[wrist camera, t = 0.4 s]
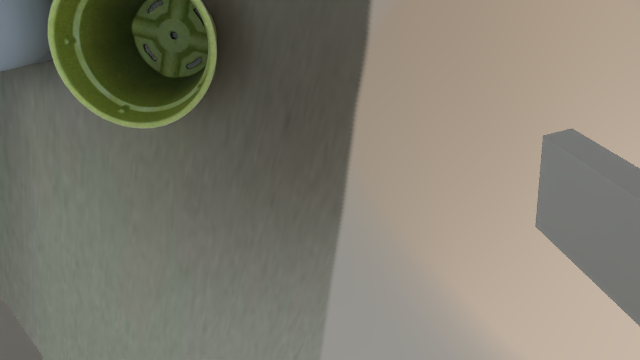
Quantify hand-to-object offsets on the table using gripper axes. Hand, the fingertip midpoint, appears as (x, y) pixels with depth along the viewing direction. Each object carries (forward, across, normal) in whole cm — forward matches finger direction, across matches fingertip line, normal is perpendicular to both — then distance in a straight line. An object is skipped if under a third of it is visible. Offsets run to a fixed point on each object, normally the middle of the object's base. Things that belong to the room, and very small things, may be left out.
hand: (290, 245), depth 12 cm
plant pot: (+28, -4, 0) cm, 28 cm away
